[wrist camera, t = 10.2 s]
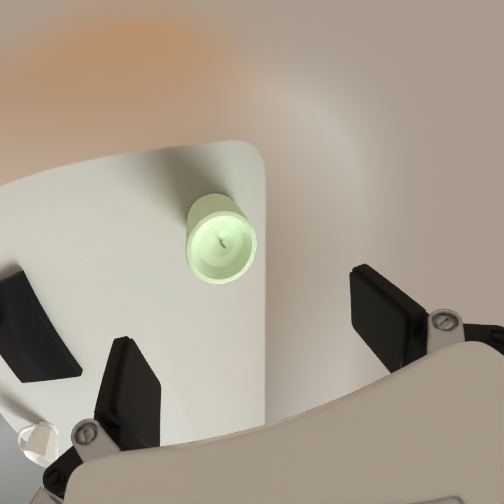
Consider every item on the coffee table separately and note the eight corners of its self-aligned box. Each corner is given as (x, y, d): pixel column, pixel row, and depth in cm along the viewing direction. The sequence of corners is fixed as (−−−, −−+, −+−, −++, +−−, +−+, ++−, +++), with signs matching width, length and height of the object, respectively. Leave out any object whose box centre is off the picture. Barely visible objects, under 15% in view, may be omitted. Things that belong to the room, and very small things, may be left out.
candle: (218, 182, 25) (230, 198, 17) (251, 223, 27) (275, 255, 19) (176, 216, 25) (169, 248, 17) (210, 255, 27) (218, 298, 20)
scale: (-32, 292, 21) (-43, 302, 19) (21, 266, 23) (9, 278, 20) (22, 378, 28) (16, 391, 25) (83, 370, 29) (77, 385, 26)
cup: (70, 440, 34) (64, 473, 27) (31, 430, 32) (22, 460, 25) (56, 420, 32) (46, 455, 24) (15, 410, 30) (4, 441, 22)
